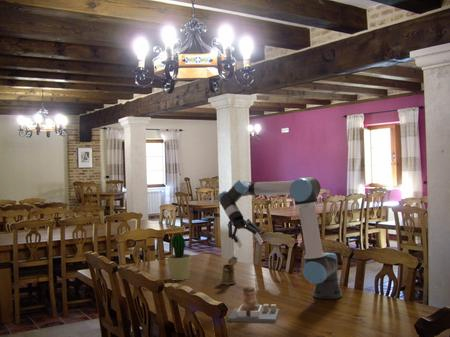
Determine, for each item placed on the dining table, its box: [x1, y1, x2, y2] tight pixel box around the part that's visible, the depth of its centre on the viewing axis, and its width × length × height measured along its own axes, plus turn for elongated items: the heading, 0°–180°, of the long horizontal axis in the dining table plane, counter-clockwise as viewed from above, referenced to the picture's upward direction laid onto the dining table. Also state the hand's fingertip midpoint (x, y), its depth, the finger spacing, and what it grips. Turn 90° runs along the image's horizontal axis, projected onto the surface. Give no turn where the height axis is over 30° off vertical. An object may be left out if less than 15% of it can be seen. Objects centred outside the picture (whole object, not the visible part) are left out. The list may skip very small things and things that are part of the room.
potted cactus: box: [166, 233, 192, 281], centre depth 315 cm, size 15×15×30 cm
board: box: [227, 303, 280, 324], centre depth 231 cm, size 22×16×4 cm
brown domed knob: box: [242, 286, 257, 315], centre depth 231 cm, size 7×7×12 cm
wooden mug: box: [220, 256, 238, 286], centre depth 294 cm, size 9×14×18 cm, turn 26°
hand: (251, 244), depth 257 cm, fingers open, 13 cm apart
